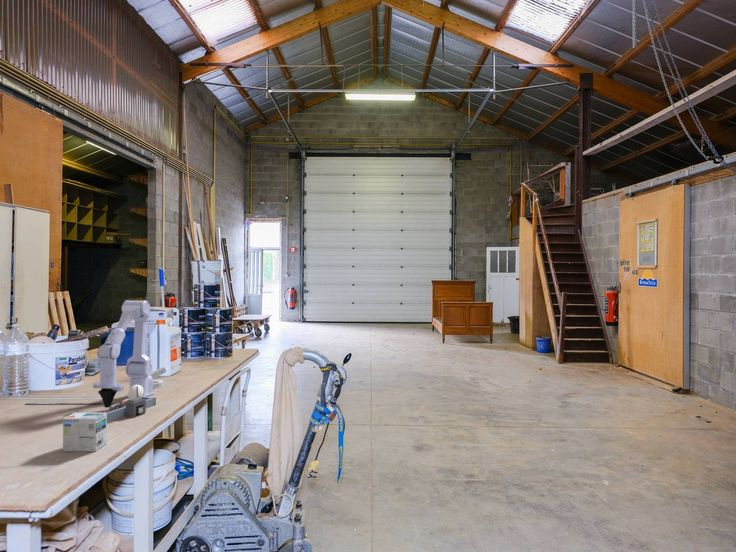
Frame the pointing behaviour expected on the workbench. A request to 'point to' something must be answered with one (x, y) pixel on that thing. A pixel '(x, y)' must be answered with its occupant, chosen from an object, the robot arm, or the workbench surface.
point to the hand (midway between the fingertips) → (107, 406)
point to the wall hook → (155, 374)
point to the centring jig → (131, 404)
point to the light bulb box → (84, 431)
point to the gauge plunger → (138, 409)
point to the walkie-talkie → (117, 405)
